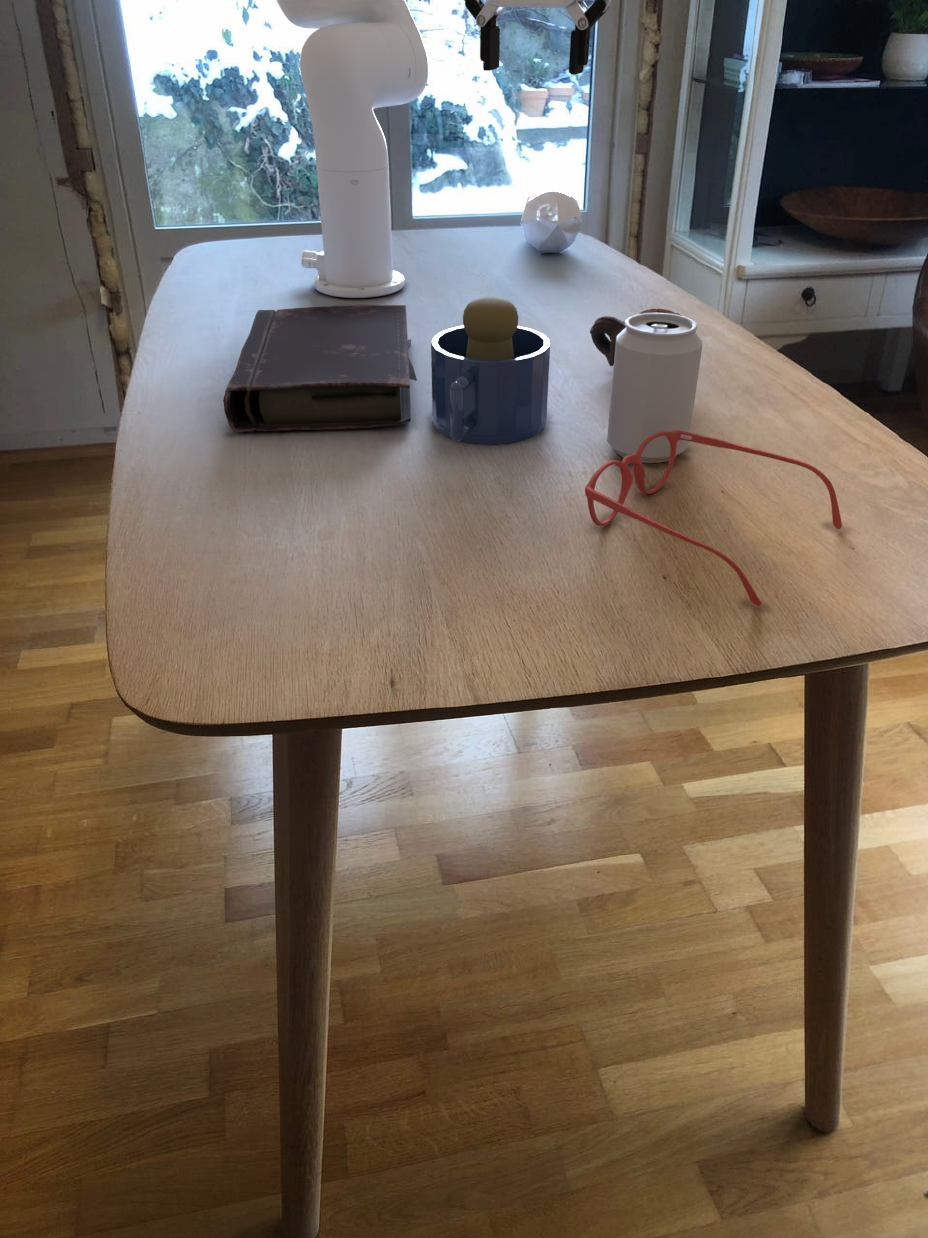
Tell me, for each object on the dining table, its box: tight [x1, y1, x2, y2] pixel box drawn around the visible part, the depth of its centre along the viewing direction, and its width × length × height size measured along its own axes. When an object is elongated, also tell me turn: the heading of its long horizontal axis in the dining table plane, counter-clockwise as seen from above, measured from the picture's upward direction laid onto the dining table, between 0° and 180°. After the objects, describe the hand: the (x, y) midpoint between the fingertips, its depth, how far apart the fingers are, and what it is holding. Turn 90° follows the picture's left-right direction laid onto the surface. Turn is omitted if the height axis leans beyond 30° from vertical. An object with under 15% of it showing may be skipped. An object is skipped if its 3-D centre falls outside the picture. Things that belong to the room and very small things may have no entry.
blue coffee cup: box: [430, 325, 551, 445], centre depth 91 cm, size 15×11×8 cm
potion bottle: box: [519, 188, 583, 254], centre depth 151 cm, size 9×10×15 cm
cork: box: [462, 297, 519, 360], centre depth 91 cm, size 6×6×11 cm
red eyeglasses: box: [584, 430, 843, 607], centre depth 74 cm, size 17×16×5 cm
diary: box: [222, 304, 418, 433], centre depth 101 cm, size 19×25×5 cm
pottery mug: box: [589, 308, 697, 367], centre depth 103 cm, size 12×10×8 cm
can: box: [606, 313, 703, 464], centre depth 86 cm, size 8×8×12 cm
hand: (532, 71), depth 103 cm, fingers open, 9 cm apart
